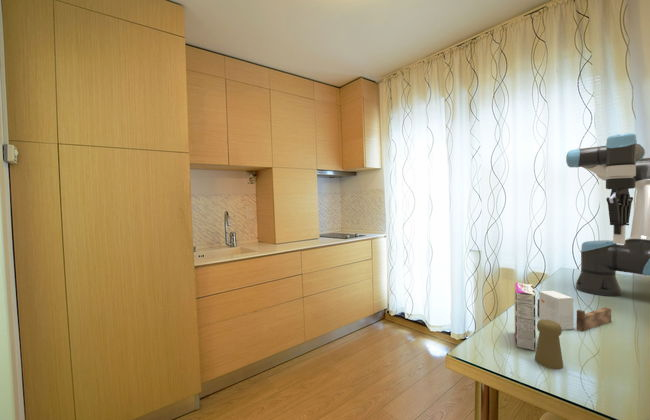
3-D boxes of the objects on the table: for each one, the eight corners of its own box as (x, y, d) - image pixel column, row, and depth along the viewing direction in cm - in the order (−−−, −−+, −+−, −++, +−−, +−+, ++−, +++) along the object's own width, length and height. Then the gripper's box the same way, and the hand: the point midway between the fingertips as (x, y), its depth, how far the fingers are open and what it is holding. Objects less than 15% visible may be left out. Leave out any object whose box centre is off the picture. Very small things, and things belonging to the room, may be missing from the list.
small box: (573, 329, 96) (574, 298, 96) (557, 330, 96) (557, 298, 95) (553, 319, 104) (554, 290, 104) (538, 320, 104) (538, 290, 103)
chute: (566, 308, 114) (566, 292, 114) (611, 321, 102) (611, 303, 102) (537, 316, 107) (537, 299, 107) (582, 331, 94) (582, 311, 94)
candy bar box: (514, 332, 95) (514, 282, 94) (533, 336, 92) (533, 284, 92) (514, 347, 85) (515, 291, 85) (536, 351, 83) (536, 294, 82)
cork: (529, 357, 80) (529, 317, 79) (549, 355, 80) (550, 316, 80) (547, 370, 74) (548, 326, 73) (569, 368, 74) (570, 325, 74)
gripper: (615, 179, 111) (614, 240, 112) (597, 178, 106) (596, 243, 107) (643, 177, 104) (642, 243, 105) (625, 176, 99) (623, 246, 100)
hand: (619, 243), depth 106 cm, fingers closed
